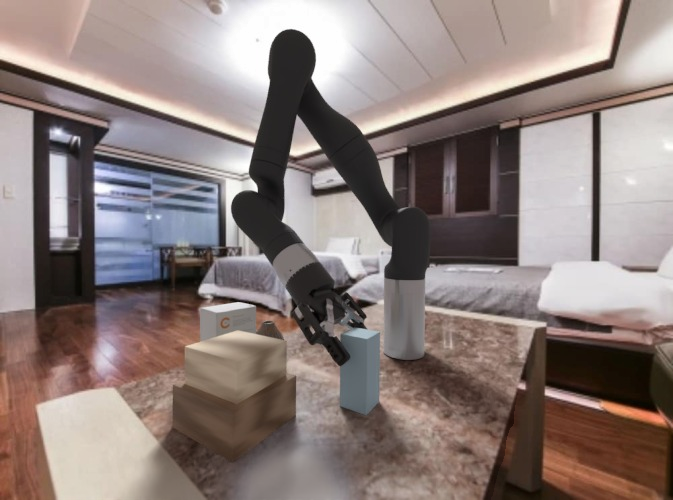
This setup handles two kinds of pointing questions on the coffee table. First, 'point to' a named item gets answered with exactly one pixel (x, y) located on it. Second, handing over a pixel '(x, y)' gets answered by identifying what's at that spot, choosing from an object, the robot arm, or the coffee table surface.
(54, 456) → the coffee table surface
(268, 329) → the vase
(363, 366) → the block
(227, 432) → the tower base
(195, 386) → the tower top
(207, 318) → the small box
